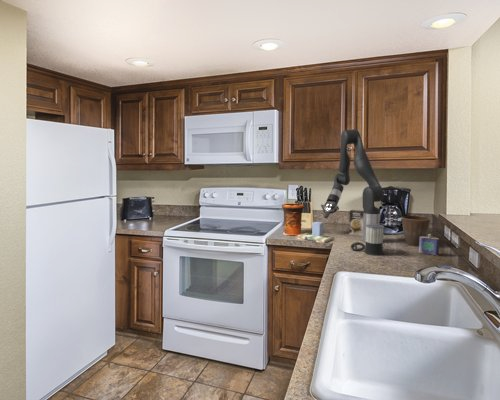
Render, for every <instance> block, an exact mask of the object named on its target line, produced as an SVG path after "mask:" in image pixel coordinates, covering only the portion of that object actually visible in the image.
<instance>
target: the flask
mask: <svg viewBox="0 0 500 400" xmlns="http://www.w3.org/2000/svg"><path fill="white" fill-rule="evenodd" d="M439 250H440V239H439V237H435V236H432V234H431V233H428V234H427V236H425V237H420V242H419V246H418V253H419V254H420V253H422V254H421V255H426V254H431V255H430V256H433V255H438V256H439Z"/></svg>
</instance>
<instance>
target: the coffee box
mask: <svg viewBox="0 0 500 400" xmlns="http://www.w3.org/2000/svg"><path fill="white" fill-rule="evenodd" d="M363 216H364V210H361V209H359V210H358V209H351V210H349V222H348V235H349V236H358V237H359V236H360V237H363Z"/></svg>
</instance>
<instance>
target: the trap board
mask: <svg viewBox="0 0 500 400" xmlns="http://www.w3.org/2000/svg"><path fill="white" fill-rule="evenodd" d="M297 240H302V241H310V242H316V243H321V244H325V243H328V242H331V241H333V240H334V237H333V236H332V235H330V236H328V237H325V235H324V234H323V235H322V236H313V235H312V234H309V232H305V233H302V234H301V235H297Z"/></svg>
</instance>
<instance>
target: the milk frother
mask: <svg viewBox="0 0 500 400" xmlns="http://www.w3.org/2000/svg"><path fill="white" fill-rule="evenodd" d="M384 228H385V225H383V224H382V225H381V224H379V225H376V224H368V225H366V242H365V244H364V243H362V242H359V241H357V242H354V243H352V244H351V245H350V248H351V250H353V251H357V252H360V251H364V253H365V254H367V255H370V256H382V255H384V252H383V251H384V248H383V246H384ZM358 246H361V248H358Z"/></svg>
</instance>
